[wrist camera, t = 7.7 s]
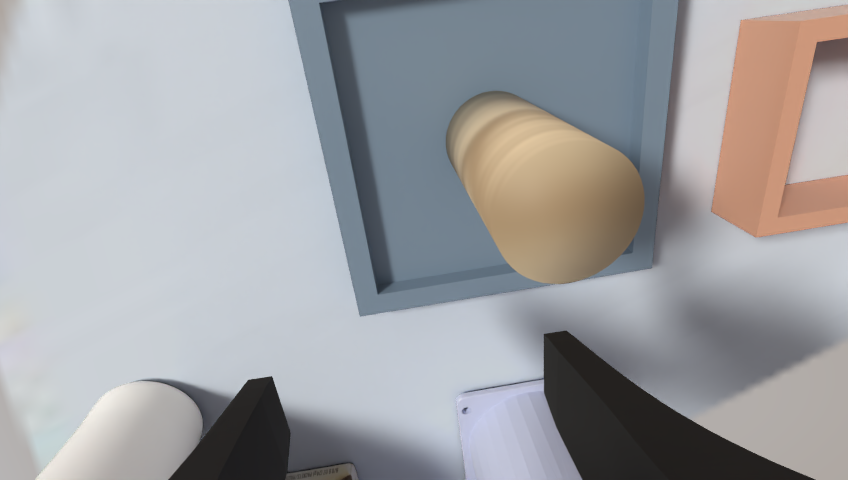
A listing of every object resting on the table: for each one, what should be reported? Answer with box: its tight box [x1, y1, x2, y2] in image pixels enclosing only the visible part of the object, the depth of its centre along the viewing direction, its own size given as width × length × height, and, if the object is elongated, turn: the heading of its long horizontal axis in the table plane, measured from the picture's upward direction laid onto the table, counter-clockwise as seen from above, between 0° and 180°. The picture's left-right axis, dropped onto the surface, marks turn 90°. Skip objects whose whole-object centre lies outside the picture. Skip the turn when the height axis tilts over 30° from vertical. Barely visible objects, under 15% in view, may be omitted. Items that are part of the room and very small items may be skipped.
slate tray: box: [288, 0, 679, 316], centre depth 20 cm, size 14×14×2 cm
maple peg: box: [446, 91, 645, 284], centre depth 16 cm, size 4×4×8 cm
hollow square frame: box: [711, 5, 848, 237], centre depth 20 cm, size 9×9×3 cm
